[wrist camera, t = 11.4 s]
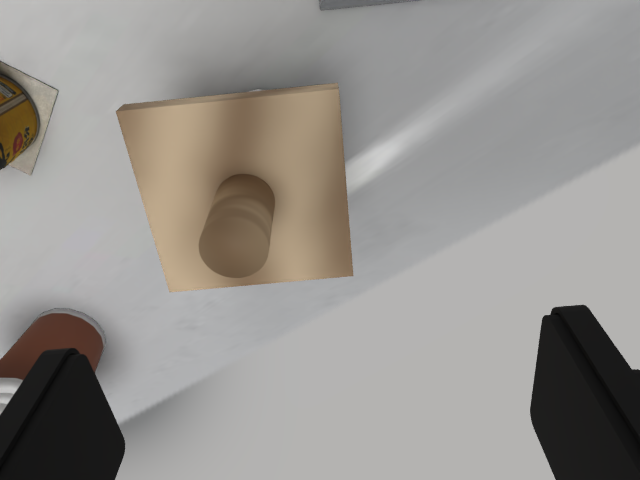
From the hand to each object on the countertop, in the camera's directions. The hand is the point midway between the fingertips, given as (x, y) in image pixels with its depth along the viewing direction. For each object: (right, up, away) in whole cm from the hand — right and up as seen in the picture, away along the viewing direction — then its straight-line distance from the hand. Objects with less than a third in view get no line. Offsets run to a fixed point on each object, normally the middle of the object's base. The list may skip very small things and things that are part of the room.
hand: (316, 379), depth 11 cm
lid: (-4, +6, +18) cm, 20 cm away
